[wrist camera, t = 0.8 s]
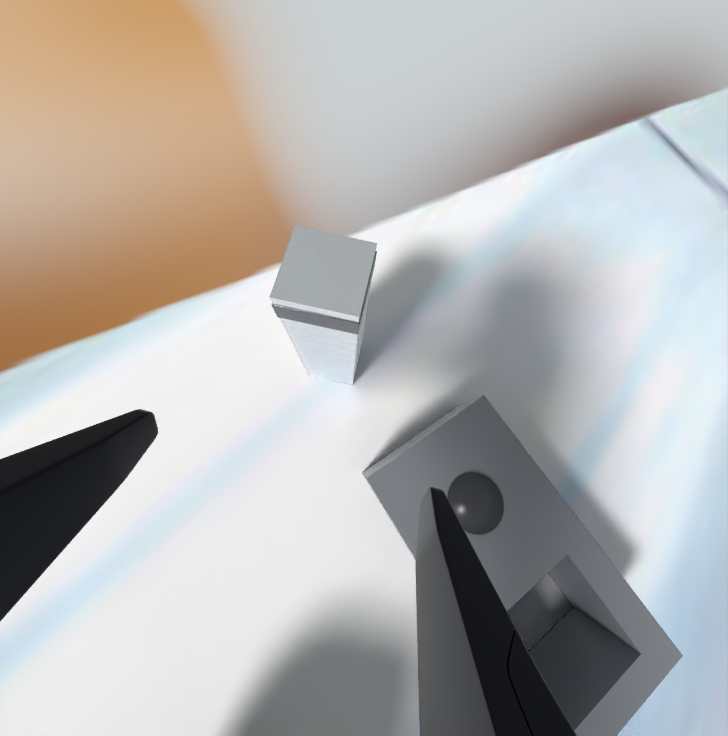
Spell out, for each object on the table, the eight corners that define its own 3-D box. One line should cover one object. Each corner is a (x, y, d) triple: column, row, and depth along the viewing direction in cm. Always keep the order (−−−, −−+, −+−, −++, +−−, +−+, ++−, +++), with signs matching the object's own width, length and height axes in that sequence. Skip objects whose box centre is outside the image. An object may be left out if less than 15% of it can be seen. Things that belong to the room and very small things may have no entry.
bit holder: (507, 711, 19) (565, 803, 14) (362, 472, 22) (366, 478, 18) (605, 608, 21) (685, 657, 16) (456, 406, 25) (484, 394, 20)
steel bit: (352, 385, 25) (360, 318, 12) (307, 375, 25) (267, 298, 12) (362, 343, 26) (377, 242, 13) (319, 334, 26) (294, 224, 13)
